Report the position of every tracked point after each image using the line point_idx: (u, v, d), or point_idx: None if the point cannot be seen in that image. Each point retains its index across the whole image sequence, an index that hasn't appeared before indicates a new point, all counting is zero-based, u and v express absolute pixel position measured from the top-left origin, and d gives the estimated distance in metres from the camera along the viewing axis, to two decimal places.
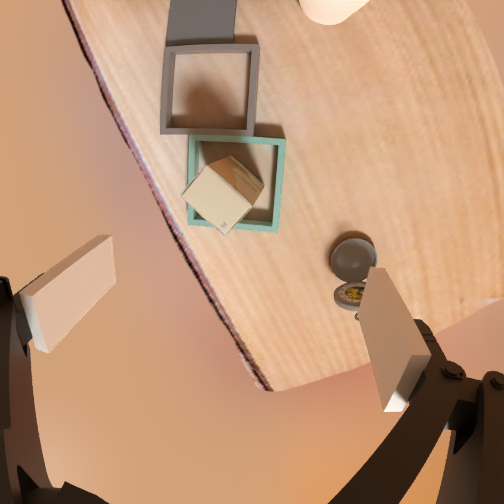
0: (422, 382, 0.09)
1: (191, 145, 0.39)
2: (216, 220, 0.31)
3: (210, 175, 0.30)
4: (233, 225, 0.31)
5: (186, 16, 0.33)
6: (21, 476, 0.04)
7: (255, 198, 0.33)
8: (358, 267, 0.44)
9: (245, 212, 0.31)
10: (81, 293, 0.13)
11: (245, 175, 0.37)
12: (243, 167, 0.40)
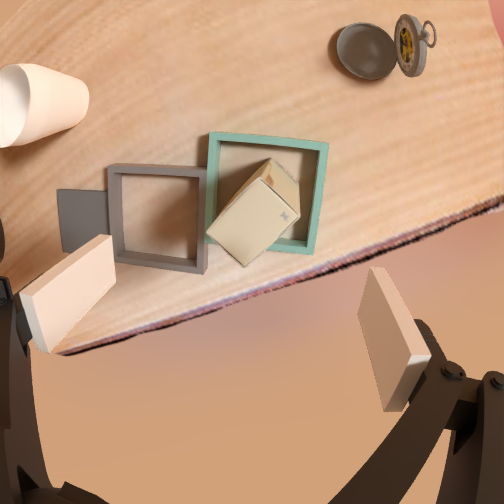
0: (422, 382, 0.09)
1: None
2: (277, 225, 0.23)
3: (218, 228, 0.24)
4: (285, 203, 0.23)
5: (86, 238, 0.39)
6: (21, 476, 0.04)
7: (262, 170, 0.25)
8: (376, 45, 0.27)
9: (267, 186, 0.22)
10: (81, 293, 0.13)
11: (248, 180, 0.30)
12: (246, 181, 0.33)
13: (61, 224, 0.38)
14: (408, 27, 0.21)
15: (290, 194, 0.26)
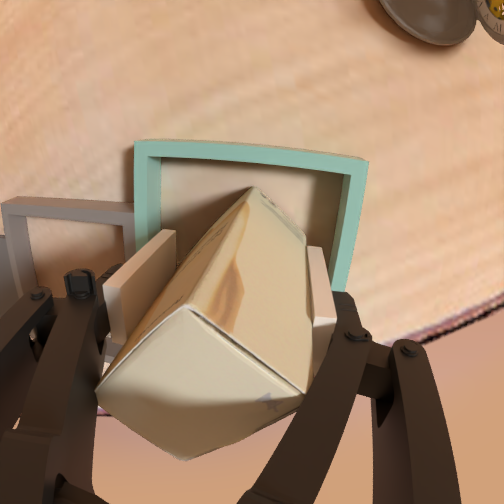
0: None
1: None
2: (251, 416, 0.08)
3: (110, 398, 0.09)
4: (272, 375, 0.07)
5: (1, 299, 0.23)
6: (60, 481, 0.05)
7: (215, 247, 0.10)
8: None
9: (214, 331, 0.07)
10: (153, 286, 0.14)
11: (203, 241, 0.15)
12: (206, 233, 0.18)
13: None
14: None
15: (289, 306, 0.10)
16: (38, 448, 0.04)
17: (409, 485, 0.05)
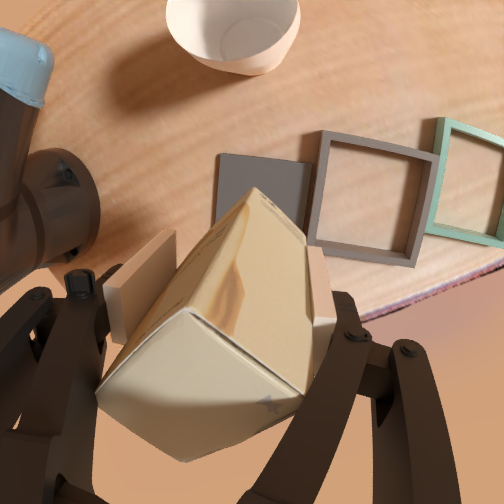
0: None
1: (436, 231, 0.29)
2: (251, 419, 0.08)
3: (110, 400, 0.08)
4: (273, 377, 0.07)
5: None
6: (60, 482, 0.05)
7: (215, 249, 0.10)
8: None
9: (214, 333, 0.07)
10: (153, 285, 0.14)
11: (203, 242, 0.15)
12: (206, 234, 0.18)
13: (220, 201, 0.33)
14: None
15: (289, 308, 0.10)
16: (38, 448, 0.04)
17: (410, 484, 0.05)
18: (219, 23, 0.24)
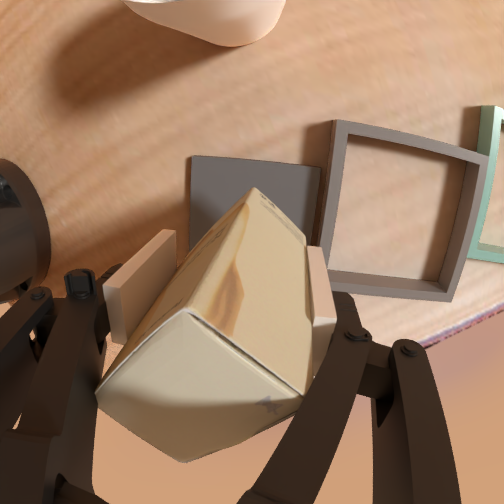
0: None
1: (480, 255, 0.21)
2: (251, 419, 0.08)
3: (110, 400, 0.08)
4: (272, 378, 0.07)
5: None
6: (60, 482, 0.05)
7: (215, 250, 0.10)
8: None
9: (214, 334, 0.07)
10: (153, 286, 0.14)
11: (203, 242, 0.15)
12: (206, 234, 0.18)
13: (193, 221, 0.24)
14: None
15: (289, 308, 0.10)
16: (38, 448, 0.04)
17: (409, 485, 0.05)
18: None
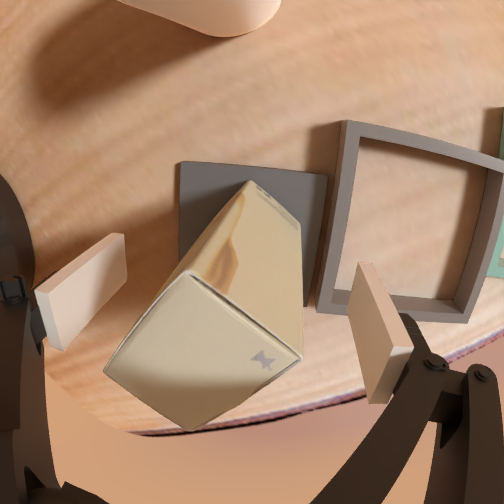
0: (405, 374, 0.09)
1: (500, 273, 0.18)
2: (248, 376, 0.09)
3: (122, 369, 0.10)
4: (264, 332, 0.08)
5: None
6: (28, 476, 0.04)
7: (213, 229, 0.11)
8: None
9: (211, 292, 0.08)
10: (95, 291, 0.13)
11: None
12: None
13: (183, 236, 0.21)
14: None
15: (281, 279, 0.11)
16: (3, 443, 0.04)
17: None
18: None
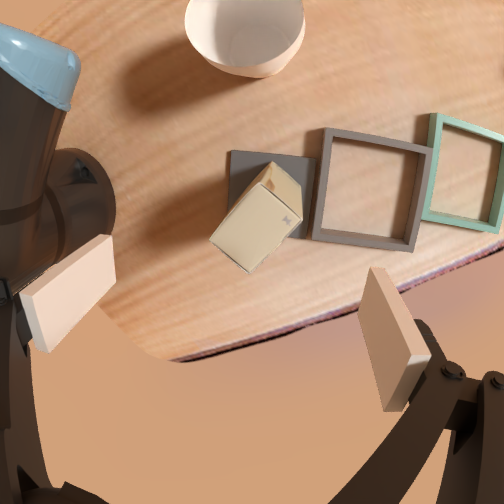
0: (422, 382, 0.09)
1: (432, 218, 0.32)
2: (280, 230, 0.23)
3: (221, 235, 0.24)
4: (287, 207, 0.22)
5: None
6: (21, 476, 0.04)
7: (262, 175, 0.25)
8: None
9: (268, 191, 0.22)
10: (81, 293, 0.13)
11: None
12: (248, 186, 0.33)
13: (231, 194, 0.35)
14: None
15: (292, 197, 0.25)
16: None
17: None
18: (228, 29, 0.27)
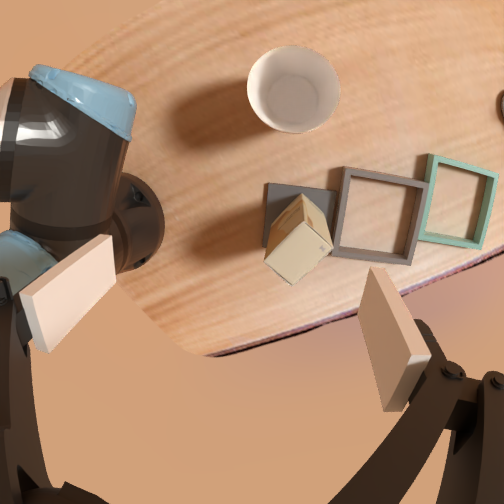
0: (422, 382, 0.09)
1: (426, 238, 0.40)
2: (317, 255, 0.32)
3: (273, 258, 0.32)
4: (323, 239, 0.31)
5: None
6: (21, 476, 0.04)
7: (302, 212, 0.34)
8: None
9: (309, 227, 0.31)
10: (81, 293, 0.13)
11: (286, 215, 0.39)
12: (282, 213, 0.42)
13: (267, 219, 0.43)
14: None
15: (323, 229, 0.34)
16: None
17: None
18: (268, 81, 0.35)
